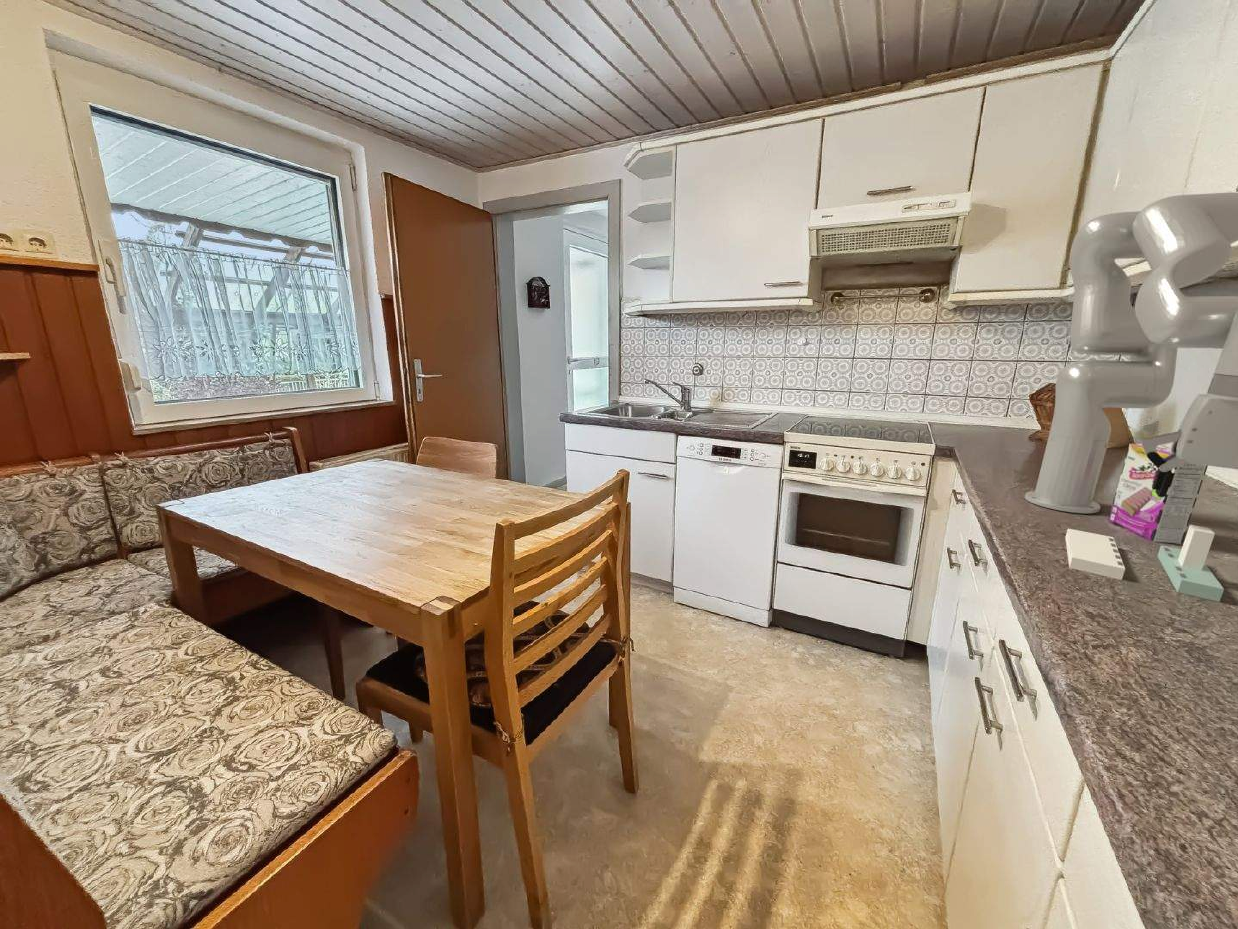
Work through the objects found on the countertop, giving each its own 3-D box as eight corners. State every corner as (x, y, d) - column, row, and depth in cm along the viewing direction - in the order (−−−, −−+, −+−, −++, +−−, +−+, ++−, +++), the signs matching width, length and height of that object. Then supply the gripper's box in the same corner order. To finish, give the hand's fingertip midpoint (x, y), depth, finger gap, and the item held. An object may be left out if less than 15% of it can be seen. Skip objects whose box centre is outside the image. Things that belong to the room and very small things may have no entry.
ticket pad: (1065, 538, 90) (1067, 528, 90) (1110, 547, 86) (1113, 536, 86) (1069, 568, 78) (1072, 556, 78) (1121, 580, 75) (1125, 568, 74)
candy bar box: (1104, 521, 99) (1127, 442, 95) (1133, 523, 98) (1158, 444, 94) (1150, 543, 89) (1178, 456, 84) (1183, 545, 88) (1213, 457, 83)
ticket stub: (1157, 556, 83) (1171, 512, 81) (1192, 563, 80) (1208, 517, 78) (1177, 592, 71) (1195, 541, 69) (1219, 602, 68) (1238, 550, 66)
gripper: (1341, 391, 66) (1289, 509, 71) (1156, 380, 76) (1122, 483, 81) (1368, 399, 60) (1309, 525, 65) (1165, 386, 71) (1128, 495, 76)
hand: (1206, 502), depth 73 cm, fingers open, 9 cm apart
